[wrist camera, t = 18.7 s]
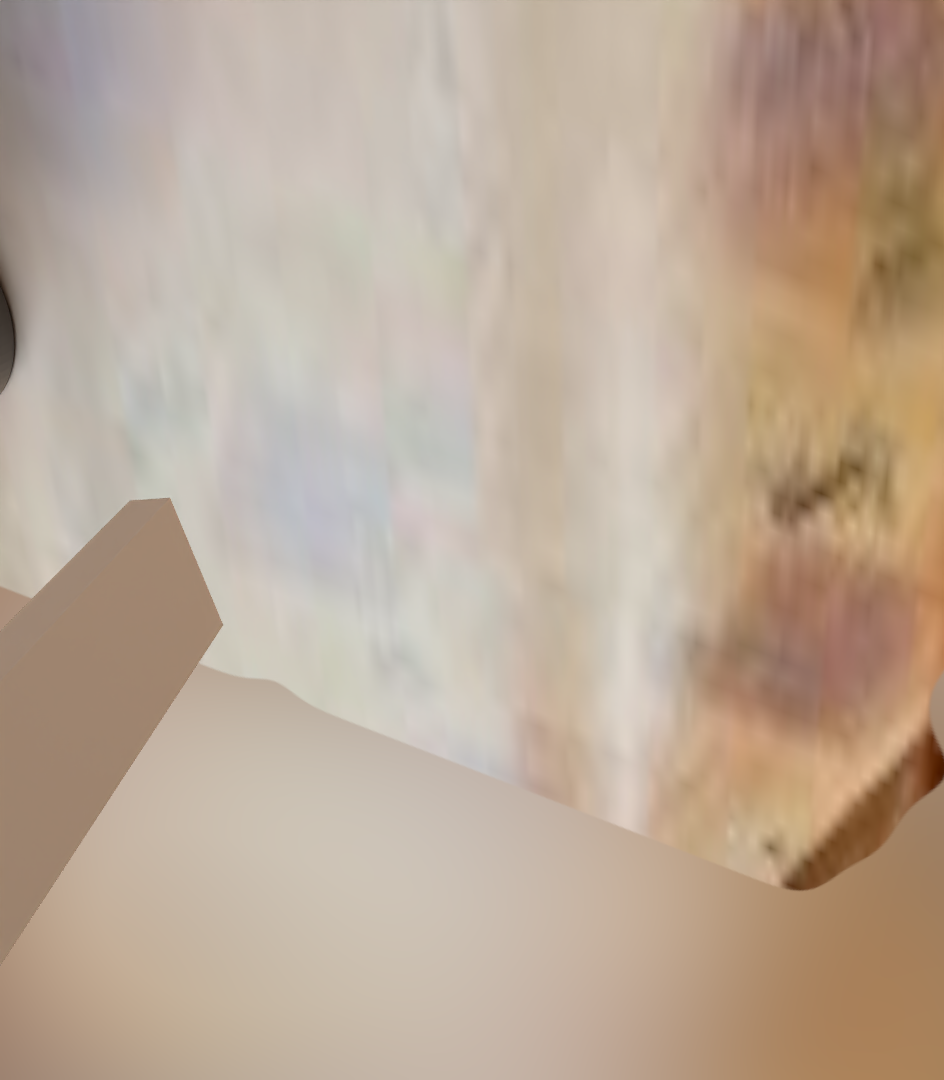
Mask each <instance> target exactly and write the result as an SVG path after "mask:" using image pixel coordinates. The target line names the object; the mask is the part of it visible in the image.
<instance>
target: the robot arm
mask: <svg viewBox="0 0 944 1080" xmlns="http://www.w3.org/2000/svg"><path fill="white" fill-rule="evenodd" d="M13 357H14V336H13V328H12V322H11V317H10V313H9V309H8V306H7V303H6V300H5V297H4V294H3V291H2V289H1V287H0V394H1V392H2V391H3V389H4V387H5V385H6V383H7V381H8V379H9V376H10V373H11V369H12V364H13ZM222 626H223V624H222V621H221V619H220V617H219V614H218V612H217V609H216V607H215V605H214V602H213V600H212V597H211V595H210V593H209V590H208V588H207V585H206V583H205V581H204V578H203V576H202V573H201V571H200V569H199V566H198V564H197V561H196V559H195V557H194V554H193V552H192V550H191V547H190V545H189V542H188V540H187V538H186V535H185V533H184V530H183V528H182V526H181V523H180V521H179V518H178V516H177V514H176V511H175V509H174V506H173V504H172V502H171V499H170V498H161V499H147V500H132V501H129V502H128V503H127V504H126V505H125V506H124V507H123V508H122V509H121V510H120V511H119V512H118V513H117V514H116V515H115V516H114V517H113V518H112V519H111V520H110V521H109V522H108V523H107V524H106V525H105V526H104V527H103V528H102V529H101V530H100V531H99V532H98V533H97V534H96V535H95V536H94V537H93V538H92V539H91V540H90V541H89V542H88V543H87V544H86V545H85V546H84V547H83V548H82V549H81V550H80V551H79V552H78V553H77V554H76V555H75V556H74V557H73V558H72V559H71V560H70V561H69V562H68V563H67V564H66V565H65V566H64V567H63V568H62V569H61V570H60V571H59V572H58V573H57V574H56V575H55V576H54V577H53V578H52V579H51V580H50V581H49V582H48V583H47V584H46V585H45V586H44V587H43V588H42V589H41V590H40V591H39V592H38V593H37V594H36V595H35V596H34V597H33V598H32V599H31V601H30V602H29V603H27V604H26V606H24V607H23V608H22V609H21V610H20V611H19V612H18V614H16V615H15V617H14V618H13V619H11V621H9V623H8V624H6V626H4V627H3V629H1V631H0V965H1V964H2V962H3V961H4V959H5V958H6V956H7V955H8V953H9V952H10V950H11V949H12V947H13V946H14V944H15V942H16V941H17V939H18V938H19V936H20V935H21V933H22V932H23V930H24V929H25V927H26V926H27V924H28V923H29V921H30V919H31V918H32V916H33V915H34V913H35V912H36V910H37V909H38V907H39V906H40V904H41V903H42V901H43V900H44V898H45V897H46V895H47V894H48V892H49V890H50V889H51V887H52V886H53V884H54V883H55V881H56V880H57V878H58V877H59V875H60V874H61V872H62V871H63V869H64V867H65V866H66V864H67V863H68V861H69V860H70V858H71V857H72V855H73V854H74V852H75V851H76V849H77V848H78V846H79V845H80V843H81V841H82V840H83V838H84V837H85V835H86V834H87V832H88V831H89V829H90V828H91V826H92V825H93V823H94V822H95V820H96V819H97V817H98V815H99V814H100V812H101V811H102V809H103V808H104V806H105V805H106V803H107V802H108V800H109V799H110V797H111V796H112V794H113V793H114V791H115V789H116V788H117V786H118V785H119V783H120V782H121V780H122V779H123V777H124V776H125V774H126V773H127V771H128V769H129V768H130V767H131V765H132V764H133V762H134V760H135V759H136V757H137V756H138V754H139V753H140V751H141V750H142V748H143V747H144V745H145V744H146V742H147V741H148V739H149V738H150V736H151V734H152V733H153V731H154V730H155V728H156V727H157V725H158V723H159V722H160V721H161V719H162V718H163V716H164V715H165V713H166V712H167V710H168V708H169V707H170V705H171V704H172V702H173V701H174V699H175V698H176V696H177V695H178V693H179V692H180V690H181V688H182V687H183V686H184V684H185V682H186V681H187V679H188V678H189V676H190V675H191V673H192V672H193V670H194V669H195V667H196V666H197V664H198V663H199V661H200V660H201V658H202V656H203V655H204V653H205V652H206V650H207V649H208V647H209V646H210V644H211V643H212V641H213V640H214V638H215V637H216V635H217V634H218V632H219V630H220V629H221V627H222Z"/></svg>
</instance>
